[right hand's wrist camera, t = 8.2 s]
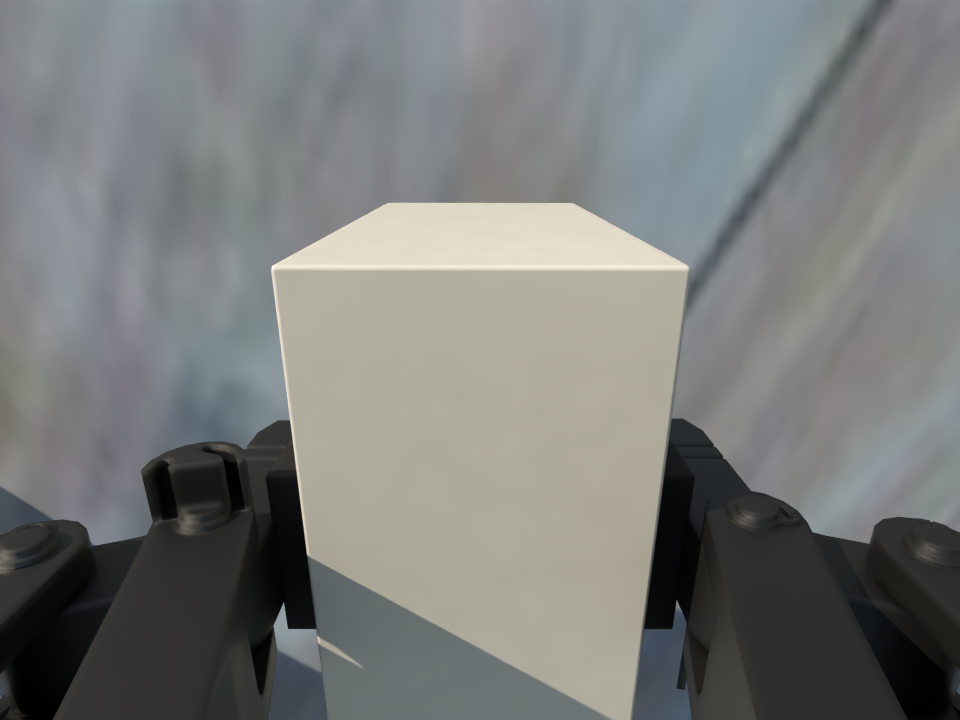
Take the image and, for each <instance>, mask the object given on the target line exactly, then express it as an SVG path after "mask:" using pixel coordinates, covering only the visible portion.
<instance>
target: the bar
mask: <svg viewBox="0 0 960 720" xmlns="http://www.w3.org/2000/svg"><path fill="white" fill-rule="evenodd" d="M271 272H272V279H273V287H274V295H275V303H276V311H277V319H278V327H279V335H280V343H281V351H282V359H283V367H284V375H285V383H286V391H287V399H288V407H289V415H290V422H291V430H292V438H293V446H294V454H295V462H296V470H297V478H298V486H299V494H300V502H301V510H302V518H303V526H304V534H305V542H306V550H307V558H308V566H309V573H310V581H311V589H312V597H313V605H314V613H315V621H316V629H317V637H318V645H319V653H320V661H321V669H322V677H323V685H324V693H325V701H326V709H327V716H328V720H632V717H633V709H634V702H635V694H636V687H637V679H638V671H639V664H640V656H641V648H642V641H643V633H644V625H645V618H646V610H647V603H648V595H649V587H650V580H651V572H652V564H653V557H654V549H655V541H656V534H657V526H658V519H659V511H660V503H661V496H662V488H663V480H664V473H665V465H666V457H667V450H668V442H669V435H670V427H671V419H672V412H673V404H674V396H675V389H676V381H677V373H678V366H679V358H680V351H681V343H682V335H683V328H684V320H685V312H686V305H687V297H688V289H689V282H690V274H691V269H690V266H688V265H686V264H684V263H682V262H680V261H679V260H677V259H675V258H673V257H671V256H669V255H668V254H666V253H664V252H662V251H660V250H658V249H656V248H655V247H653V246H651V245H649V244H647V243H645V242H644V241H642V240H640V239H638V238H636V237H634V236H632V235H631V234H629V233H627V232H625V231H623V230H621V229H620V228H618V227H616V226H614V225H612V224H610V223H609V222H607V221H605V220H603V219H601V218H599V217H597V216H596V215H594V214H592V213H590V212H588V211H586V210H585V209H583V208H581V207H579V206H577V205H575V204H573V203H387V204H385V205H383V206H382V207H380V208H378V209H376V210H374V211H372V212H370V213H369V214H367V215H365V216H363V217H361V218H359V219H358V220H356V221H354V222H352V223H350V224H348V225H347V226H345V227H343V228H341V229H339V230H337V231H336V232H334V233H332V234H330V235H328V236H326V237H325V238H323V239H321V240H319V241H317V242H315V243H313V244H312V245H310V246H308V247H306V248H304V249H302V250H301V251H299V252H297V253H295V254H293V255H291V256H290V257H288V258H286V259H284V260H282V261H280V262H279V263H277V264H275V265H273V266H272V269H271Z"/></svg>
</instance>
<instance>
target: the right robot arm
mask: <svg viewBox="0 0 960 720" xmlns="http://www.w3.org/2000/svg"><path fill="white" fill-rule="evenodd" d="M141 473H142V477H143V482H144V486H145V490H146V494H147V499H148V503H149V507H150V511H151V516H152V520H153V524H152V526H151V528H150V530H149V532H148V534H147V535H146V536H142V537H138V538H133V539H128V540H123V541H118V542H113V543H107V544H102V545H97V546H91V542H90V539H89V535H88V532H87V528H85V527H84V526H83V525H82V524H80V523H79V522H76V521H69V520H53V521H40V522H35V523H31V525H29V524H27V525H24V526H21V527H17V528H15V529H14V530H12V531H10V532H8V533H6V534H3V535H1V536H0V682H1V685H2V687H3V690H4V693H5V694H4V696H3V697H2V698H1V699H0V720H268V717H269V709H270V702H271V694H272V686H273V678H274V670H275V663H276V655H277V647H276V639H275V633H274V627H273V625H274V623H275V621H276V619H277V616H278V614H279V612H280V609H281V607H282V605H283V603H284V605H285V611H286V618H287V625H288V629H316V621H315V613H314V605H313V597H312V589H311V581H310V573H309V566H308V558H307V550H306V542H305V534H304V526H303V518H302V510H301V502H300V494H299V486H298V478H297V470H296V462H295V454H294V446H293V438H292V430H291V422H290V421H276V422H275V423H273V424H271V425H270V426H268V427H266V428H265V429H263V430H261V431H260V432H258V433H257V435H256V436H255V437H254V438H253V440H252V441H251V442H250V443H249V445H248V446H247V449H245V450H243V449H242V448H241V447H239V446H238V445H236V444H231V443H227V442H202V443H197V444H191V445H186V446H183V447H180V448H177V449H174V450H171V451H168V452H166V453H164V454H162V455H160V456H158V457H156V458H155V459H153V460H151V461H150V462H149V463H148V464H147V465H146V466H145V467H144V468H143V469H142V470H141ZM676 601H678V603H679V606H680V608H681V610H682V612H683V615H684V617H685V619H686V621H687V627H686V633H685V639H684V646H683V652H682V658H681V664H680V670H679V677H678V684H677V689H682V690H685V685H686V679H687V685H688V692H689V700H690V708H691V716H692V720H960V695H959V694H958V693H957V692H956V691H957V689H958V686H959V684H960V532H957V531H955V530H953V529H950V528H949V527H947V526H946V525H943V524H940V523H937V522H933V523H932V522H930V521H929V520H924V519H918V518H917V519H914V518H904V517H895V518H888V519H883V520H882V521H880V522H879V523H878V524H876V525H875V526H874V530H873V533H872V537H871V540H870V544H867V543H861V542H856V541H851V540H846V539H840V538H835V537H830V536H825V535H821V534H817V533H813V532H812V531H811V529H810V527H809V525H808V523H807V521H806V520H805V519H804V518H803V517H802V515H801V514H800V513H799V512H798V511H797V510H796V509H794V508H793V507H791V506H790V505H788V504H787V503H785V502H783V501H781V500H779V499H776V498H774V497H771V496H769V495H766V494H763V493H758V492H754V491H751V490H750V489H749V488H748V487H747V485H746V484H745V483H744V482H743V480H742V479H741V478H740V477H739V475H738V474H737V473H736V472H735V470H734V469H733V468H732V467H731V465H730V464H729V463H728V462H727V460H726V459H723V455H722V454H721V453H720V452H719V450H718V449H717V448H716V447H714V444H713V443H712V442H711V440H710V439H709V438H708V437H707V435H706V434H705V433H704V432H703V431H702V430H701V429H699V428H697V427H696V426H694V425H692V424H691V423H689V422H687V421H686V420H684V419H671V427H670V435H669V442H668V450H667V457H666V465H665V473H664V480H663V488H662V496H661V503H660V511H659V519H658V526H657V534H656V541H655V549H654V557H653V564H652V572H651V580H650V587H649V595H648V603H647V610H646V618H645V625H644V629H672V627H673V621H674V614H675V607H676Z"/></svg>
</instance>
